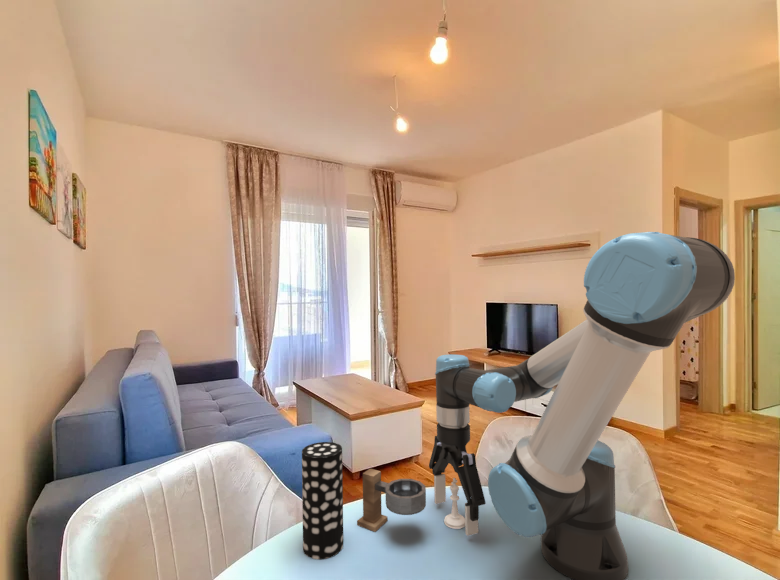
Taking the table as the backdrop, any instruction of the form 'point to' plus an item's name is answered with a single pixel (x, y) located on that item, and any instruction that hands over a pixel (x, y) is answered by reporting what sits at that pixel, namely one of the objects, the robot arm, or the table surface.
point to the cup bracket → (403, 496)
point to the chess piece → (454, 510)
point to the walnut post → (371, 502)
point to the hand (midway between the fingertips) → (455, 516)
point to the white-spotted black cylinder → (322, 500)
